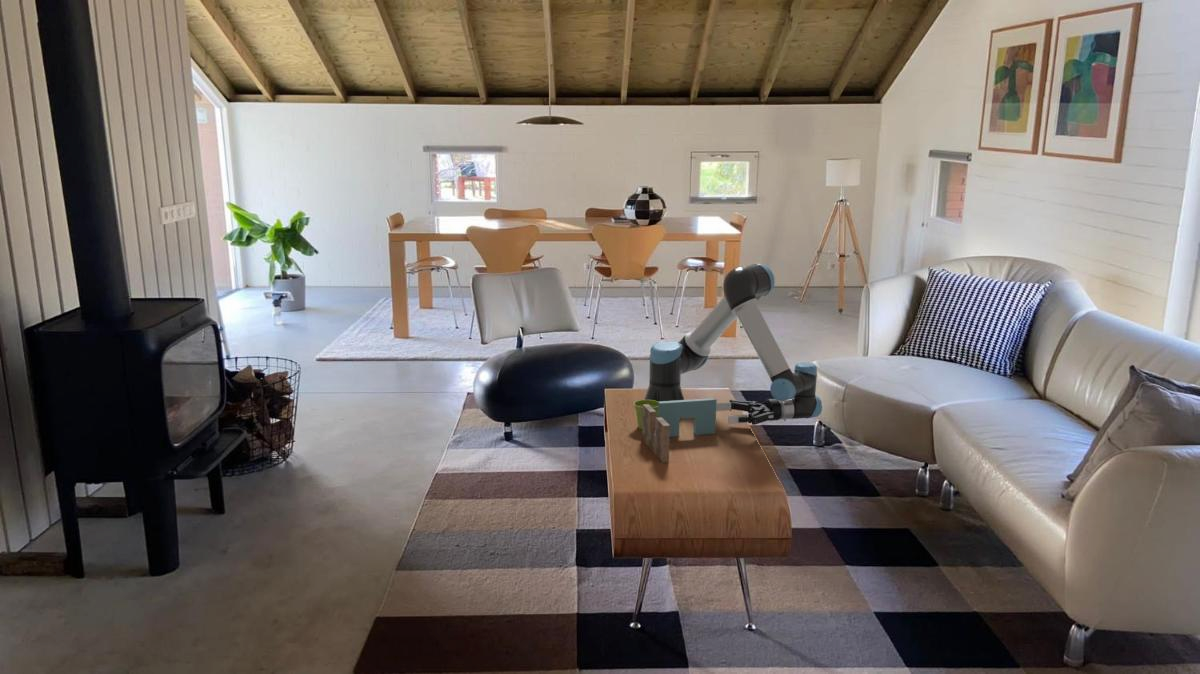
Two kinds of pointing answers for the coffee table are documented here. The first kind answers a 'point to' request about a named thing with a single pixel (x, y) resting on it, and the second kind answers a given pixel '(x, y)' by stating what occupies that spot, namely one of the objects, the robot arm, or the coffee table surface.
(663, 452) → the walnut board
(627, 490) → the coffee table surface
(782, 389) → the robot arm
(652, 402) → the plant pot
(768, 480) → the coffee table surface
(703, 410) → the slotted plate
